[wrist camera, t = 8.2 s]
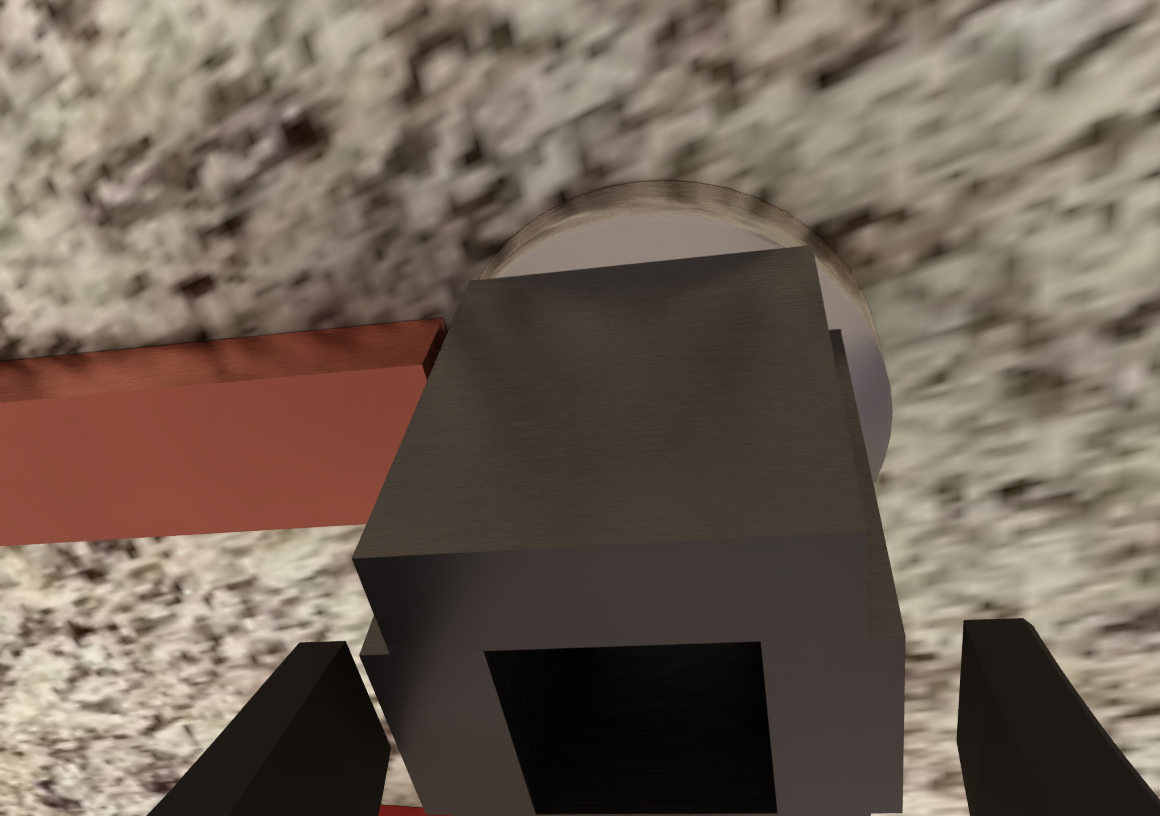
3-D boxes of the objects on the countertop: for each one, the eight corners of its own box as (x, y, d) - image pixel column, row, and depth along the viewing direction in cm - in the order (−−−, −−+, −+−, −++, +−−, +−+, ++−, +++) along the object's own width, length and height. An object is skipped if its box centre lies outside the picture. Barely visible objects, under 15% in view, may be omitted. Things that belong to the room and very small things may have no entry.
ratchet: (879, 524, 19) (915, 696, 15) (-19, 573, 22) (-145, 722, 19) (878, 153, 15) (925, 279, 11) (-215, 284, 18) (-417, 409, 15)
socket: (846, 546, 17) (901, 881, 12) (522, 563, 18) (452, 877, 13) (838, 242, 14) (907, 528, 9) (447, 283, 15) (319, 560, 10)
